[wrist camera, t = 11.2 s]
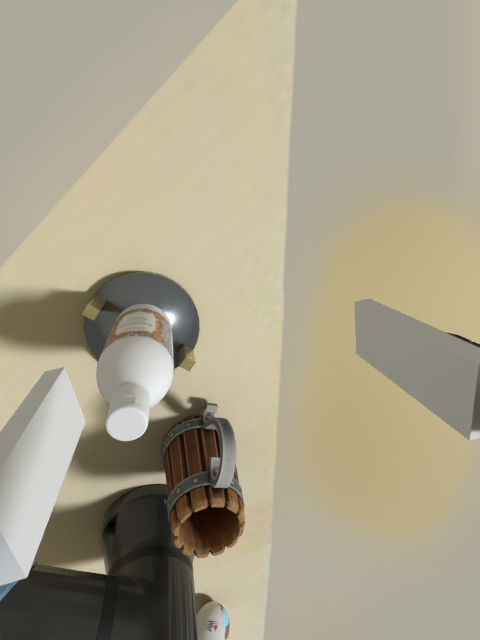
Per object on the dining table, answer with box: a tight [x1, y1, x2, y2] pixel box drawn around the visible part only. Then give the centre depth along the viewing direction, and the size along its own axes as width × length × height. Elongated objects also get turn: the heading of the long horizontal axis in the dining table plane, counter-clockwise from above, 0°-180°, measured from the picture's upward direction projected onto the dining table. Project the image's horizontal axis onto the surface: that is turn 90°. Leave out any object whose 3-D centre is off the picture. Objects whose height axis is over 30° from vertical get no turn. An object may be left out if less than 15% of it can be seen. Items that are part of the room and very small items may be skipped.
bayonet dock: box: [82, 272, 199, 371], centre depth 40 cm, size 14×14×5 cm
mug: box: [162, 403, 245, 558], centre depth 43 cm, size 16×11×15 cm
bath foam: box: [96, 304, 174, 441], centre depth 32 cm, size 7×7×20 cm
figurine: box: [197, 600, 229, 640], centre depth 59 cm, size 8×6×7 cm
